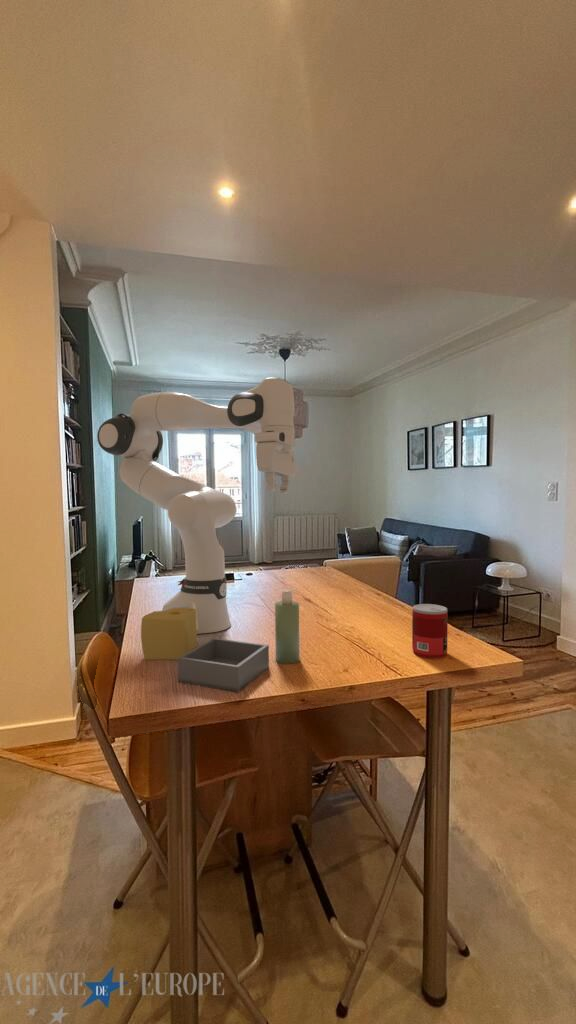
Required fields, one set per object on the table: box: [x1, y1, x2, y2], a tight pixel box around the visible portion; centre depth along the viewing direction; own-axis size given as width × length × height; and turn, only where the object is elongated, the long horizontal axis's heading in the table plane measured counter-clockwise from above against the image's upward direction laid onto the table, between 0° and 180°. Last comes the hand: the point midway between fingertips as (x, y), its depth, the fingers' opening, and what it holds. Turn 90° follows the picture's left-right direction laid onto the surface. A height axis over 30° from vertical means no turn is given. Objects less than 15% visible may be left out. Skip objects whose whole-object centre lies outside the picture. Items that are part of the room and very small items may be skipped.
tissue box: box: [140, 608, 198, 661], centre depth 114 cm, size 10×11×10 cm
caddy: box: [177, 637, 270, 693], centre depth 101 cm, size 14×14×5 cm
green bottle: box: [274, 589, 300, 665], centre depth 109 cm, size 6×6×16 cm
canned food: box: [411, 603, 449, 659], centre depth 113 cm, size 8×8×11 cm
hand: (278, 491), depth 125 cm, fingers open, 8 cm apart
